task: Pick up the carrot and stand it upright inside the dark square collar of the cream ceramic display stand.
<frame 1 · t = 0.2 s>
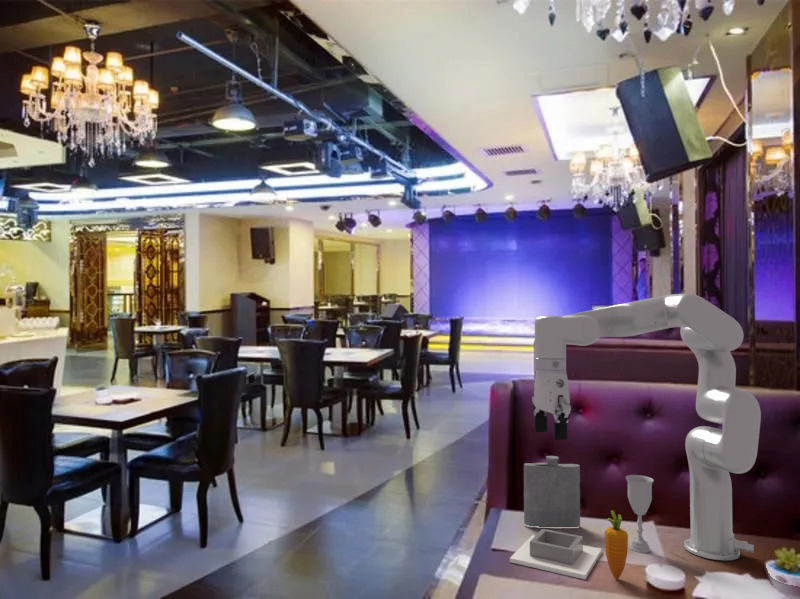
hand: (550, 435, 140), 31 cm above the table, tool pointing down, fingers open, 9 cm apart
chalice: (640, 549, 148), on the table
display stand: (556, 557, 142), on the table
hip flask: (552, 527, 163), on the table
carrot: (616, 580, 130), on the table
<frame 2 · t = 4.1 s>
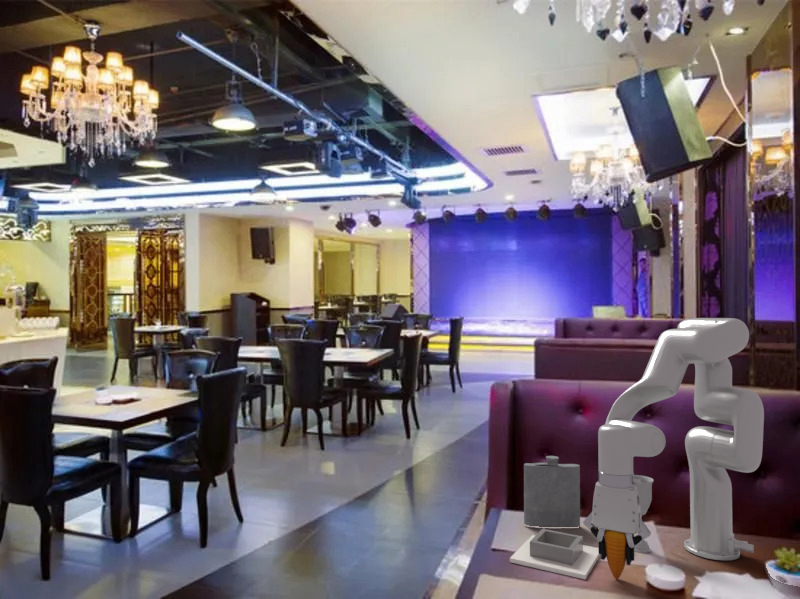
hand: (616, 559, 130), 4 cm above the table, tool pointing down, fingers closed on carrot, 4 cm apart
carrot: (616, 580, 130), on the table, touching gripper
everything else where it was.
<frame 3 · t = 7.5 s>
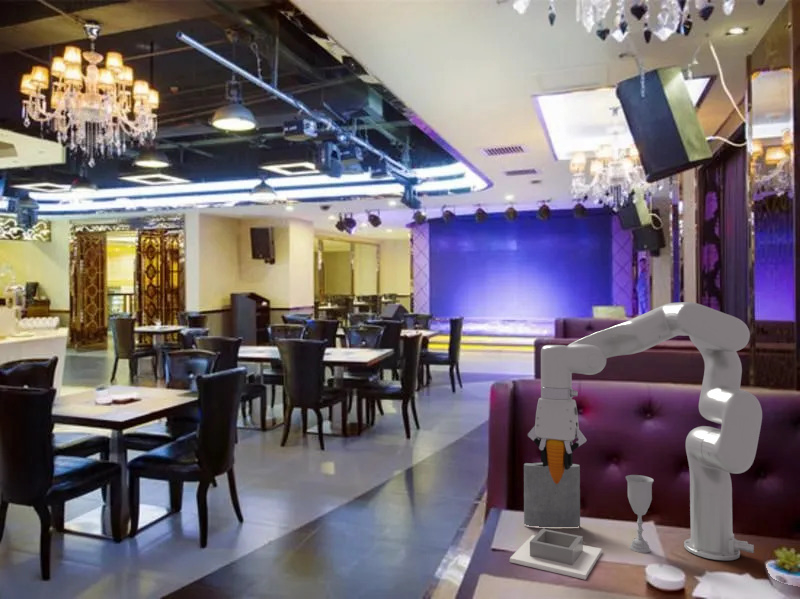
hand: (556, 466, 143), 22 cm above the table, tool pointing down, fingers closed on carrot, 4 cm apart
carrot: (556, 484, 142), point 18 cm above the table, touching gripper
everything else where it was.
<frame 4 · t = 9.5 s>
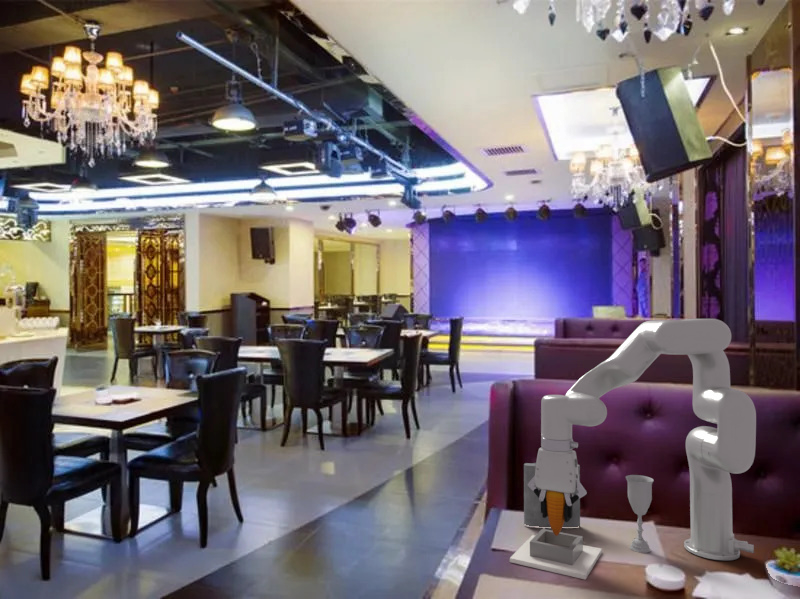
hand: (556, 517, 142), 10 cm above the table, tool pointing down, fingers closed on carrot, 4 cm apart
carrot: (556, 536, 142), point 5 cm above the table, touching gripper
everything else where it was.
when the fingers open (7 cm above the table, at t = 11.2 s): carrot drops 1 cm, resting on display stand.
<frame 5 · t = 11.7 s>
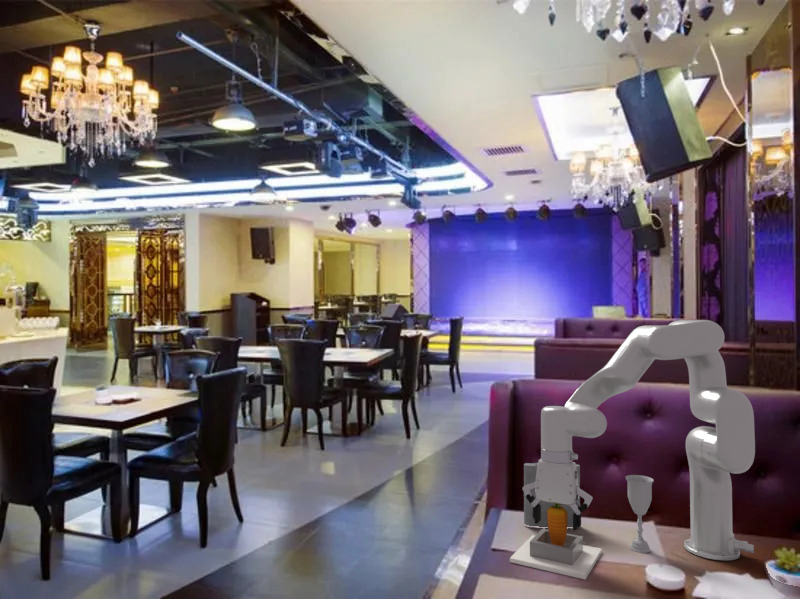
hand: (556, 525, 142), 8 cm above the table, tool pointing down, fingers open, 9 cm apart
carrot: (557, 554, 142), point 1 cm above the table, touching display stand
everything else where it was.
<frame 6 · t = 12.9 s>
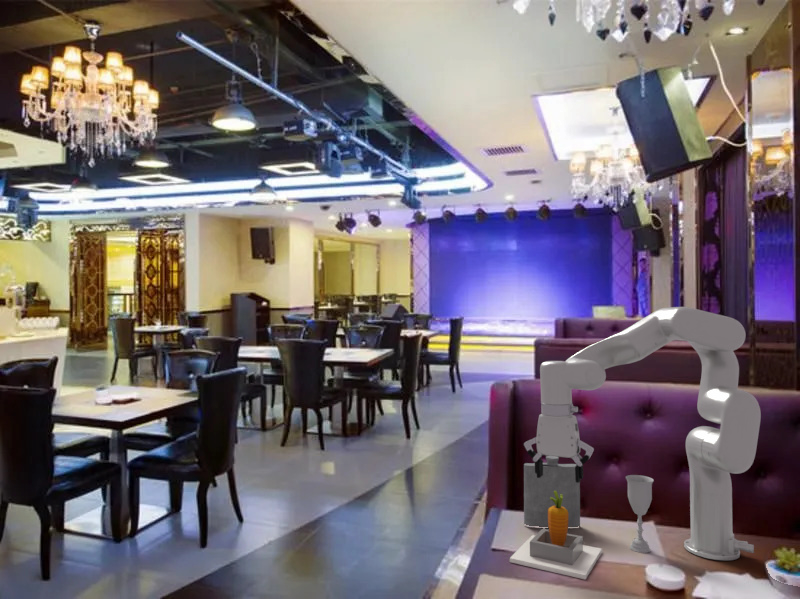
hand: (559, 478, 143), 19 cm above the table, tool pointing down, fingers open, 9 cm apart
nothing on the table moved.
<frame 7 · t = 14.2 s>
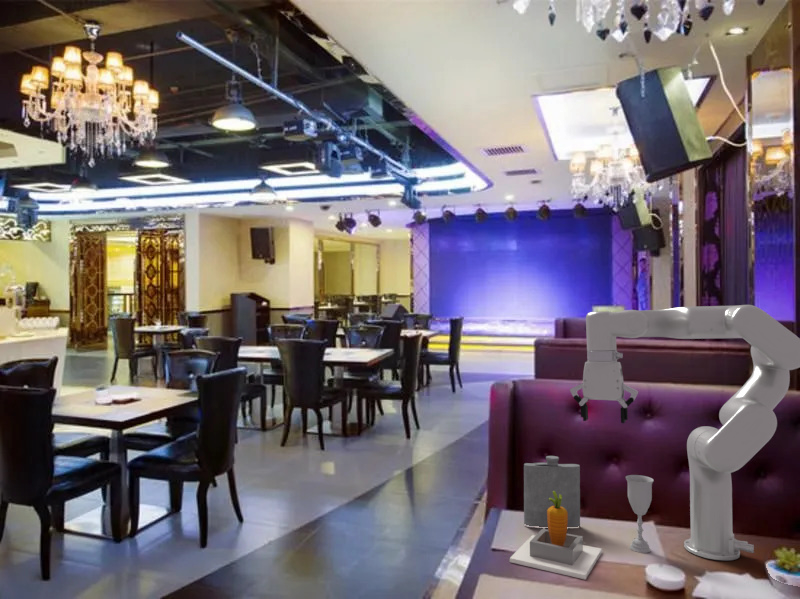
hand: (604, 421, 152), 32 cm above the table, tool pointing down, fingers open, 9 cm apart
nothing on the table moved.
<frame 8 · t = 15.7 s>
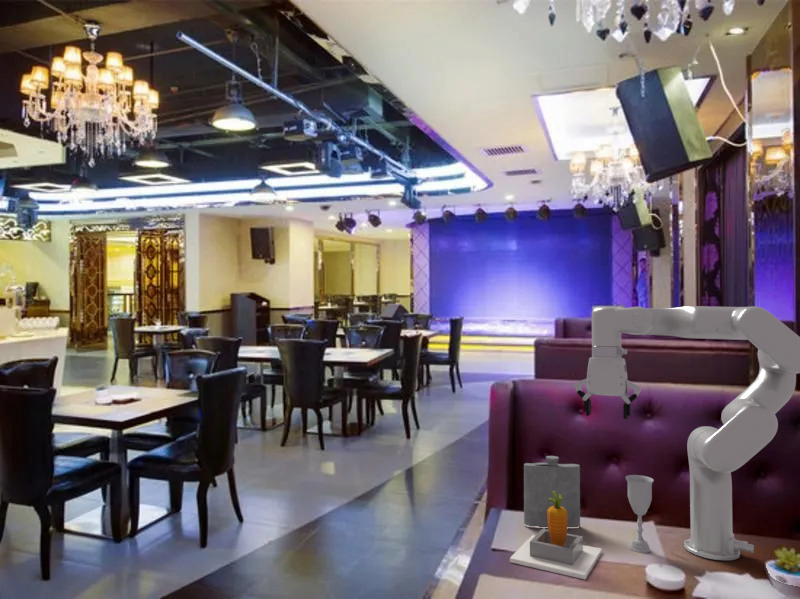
hand: (607, 416, 153), 33 cm above the table, tool pointing down, fingers open, 9 cm apart
nothing on the table moved.
at the end: carrot 0.3 cm off-centre on the display stand, point 0.8 cm above the display stand's base; carrot tilted 1°; the gripper is holding nothing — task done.
